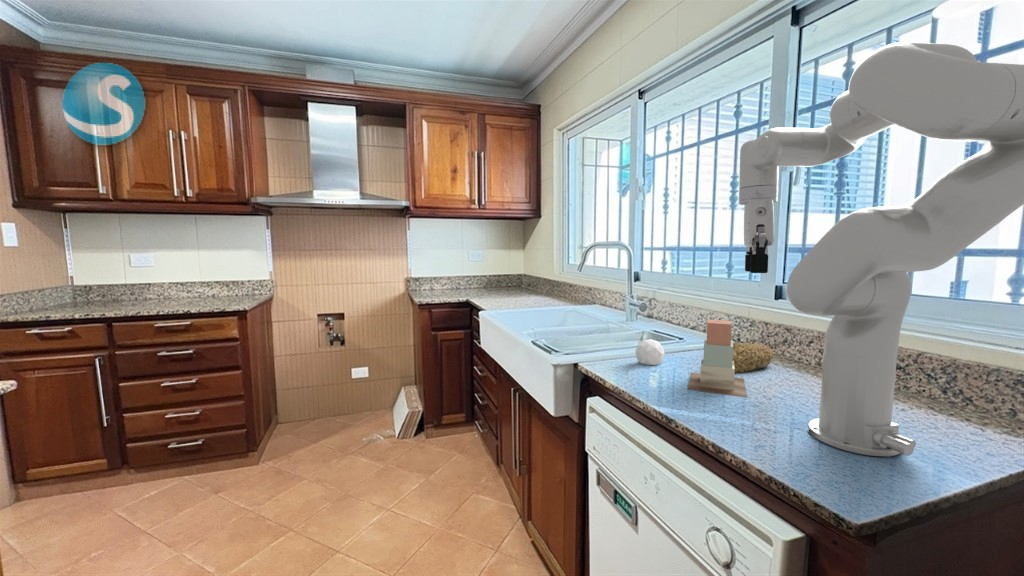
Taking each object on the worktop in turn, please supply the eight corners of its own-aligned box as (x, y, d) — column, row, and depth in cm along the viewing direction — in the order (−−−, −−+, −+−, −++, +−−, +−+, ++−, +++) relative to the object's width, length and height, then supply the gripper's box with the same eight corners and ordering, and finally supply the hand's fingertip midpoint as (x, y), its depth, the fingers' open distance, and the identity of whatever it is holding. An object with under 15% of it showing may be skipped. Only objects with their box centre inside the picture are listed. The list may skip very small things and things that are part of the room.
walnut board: (747, 401, 88) (747, 397, 88) (687, 393, 94) (687, 389, 94) (743, 382, 101) (743, 378, 101) (690, 376, 106) (690, 372, 106)
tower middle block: (732, 368, 93) (733, 346, 92) (703, 365, 95) (704, 344, 95) (731, 361, 98) (732, 341, 98) (703, 358, 101) (704, 338, 100)
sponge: (741, 384, 104) (796, 360, 110) (732, 354, 104) (788, 331, 110) (702, 378, 116) (753, 356, 123) (694, 351, 116) (746, 331, 123)
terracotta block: (730, 346, 93) (731, 324, 92) (706, 343, 95) (707, 322, 95) (730, 341, 97) (731, 320, 97) (707, 339, 100) (707, 319, 99)
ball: (651, 377, 114) (649, 359, 109) (631, 361, 120) (628, 343, 115) (671, 362, 116) (669, 344, 111) (650, 347, 122) (647, 329, 117)
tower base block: (733, 390, 93) (734, 369, 92) (700, 386, 96) (700, 365, 95) (732, 381, 99) (733, 361, 98) (701, 377, 102) (701, 358, 101)
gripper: (785, 189, 82) (782, 273, 84) (770, 200, 98) (768, 270, 99) (743, 192, 85) (741, 273, 87) (735, 202, 101) (733, 270, 102)
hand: (755, 272), depth 93 cm, fingers open, 9 cm apart
